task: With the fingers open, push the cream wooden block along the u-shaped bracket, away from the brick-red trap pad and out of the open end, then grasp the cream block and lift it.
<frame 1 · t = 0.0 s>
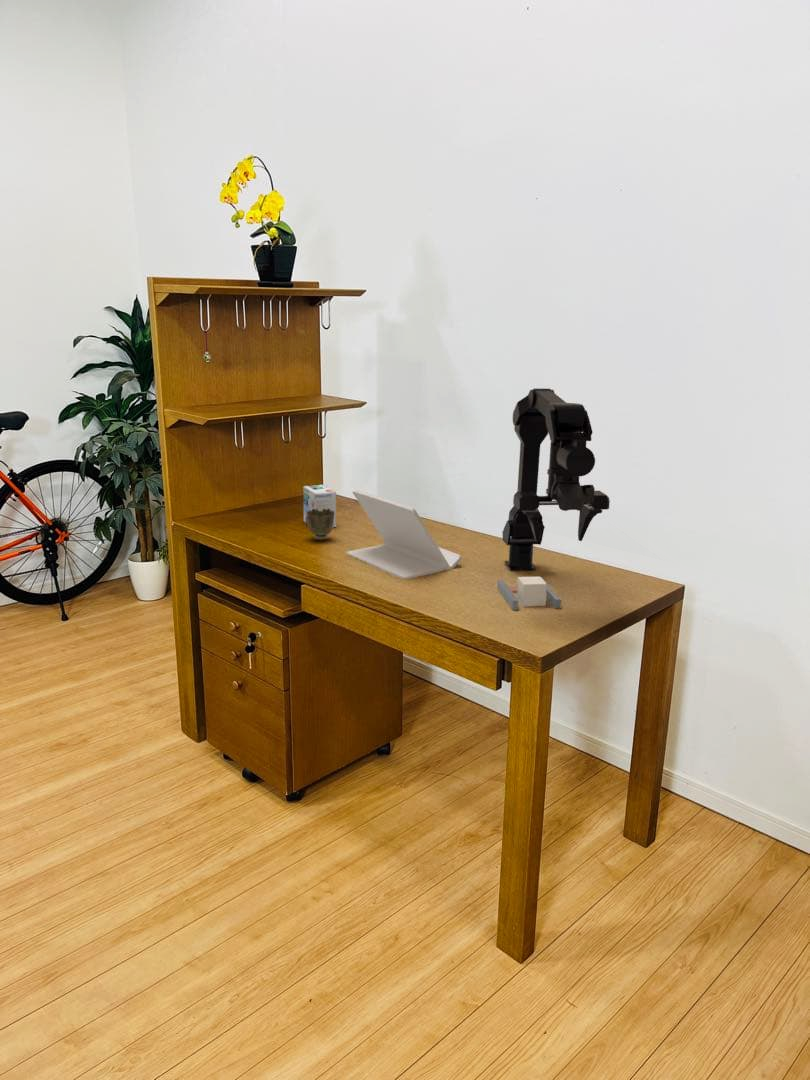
hand: (558, 541, 170), 15 cm above the table, tool pointing down, fingers open, 9 cm apart
cup: (321, 540, 222), on the table
tablet stand: (402, 561, 205), on the table
cream block: (530, 602, 177), on the table
light bulb box: (319, 525, 237), on the table
u-shaped bracket: (527, 597, 179), on the table
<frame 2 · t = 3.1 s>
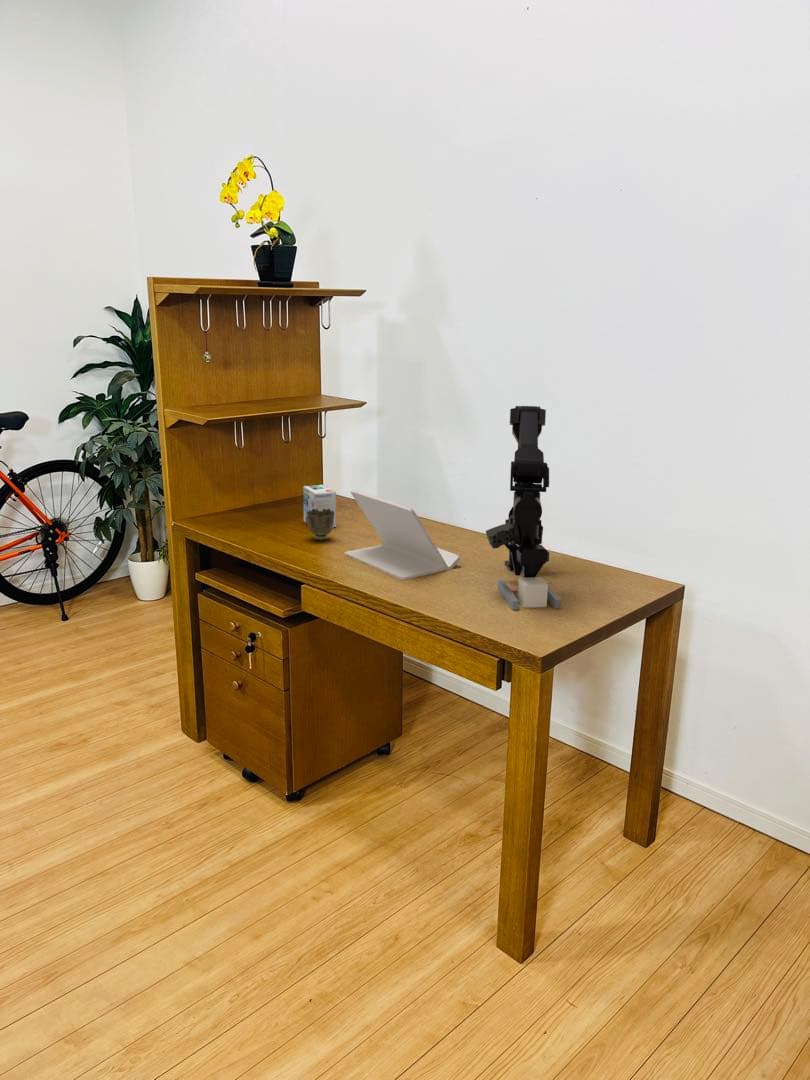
hand: (522, 581, 184), 2 cm above the table, tool pointing down, fingers open, 8 cm apart
cream block: (531, 603, 176), on the table, touching gripper
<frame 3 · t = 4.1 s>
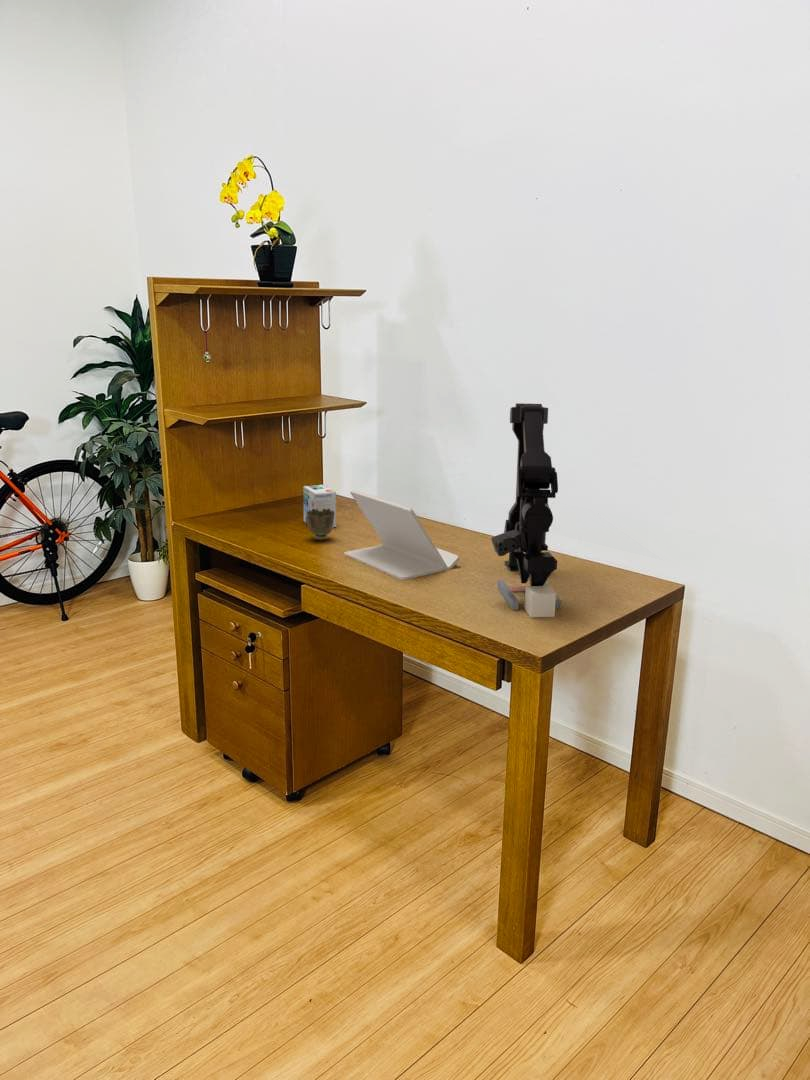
hand: (529, 589, 178), 2 cm above the table, tool pointing down, fingers open, 8 cm apart
cream block: (539, 612, 171), on the table, touching gripper
everything else where it was.
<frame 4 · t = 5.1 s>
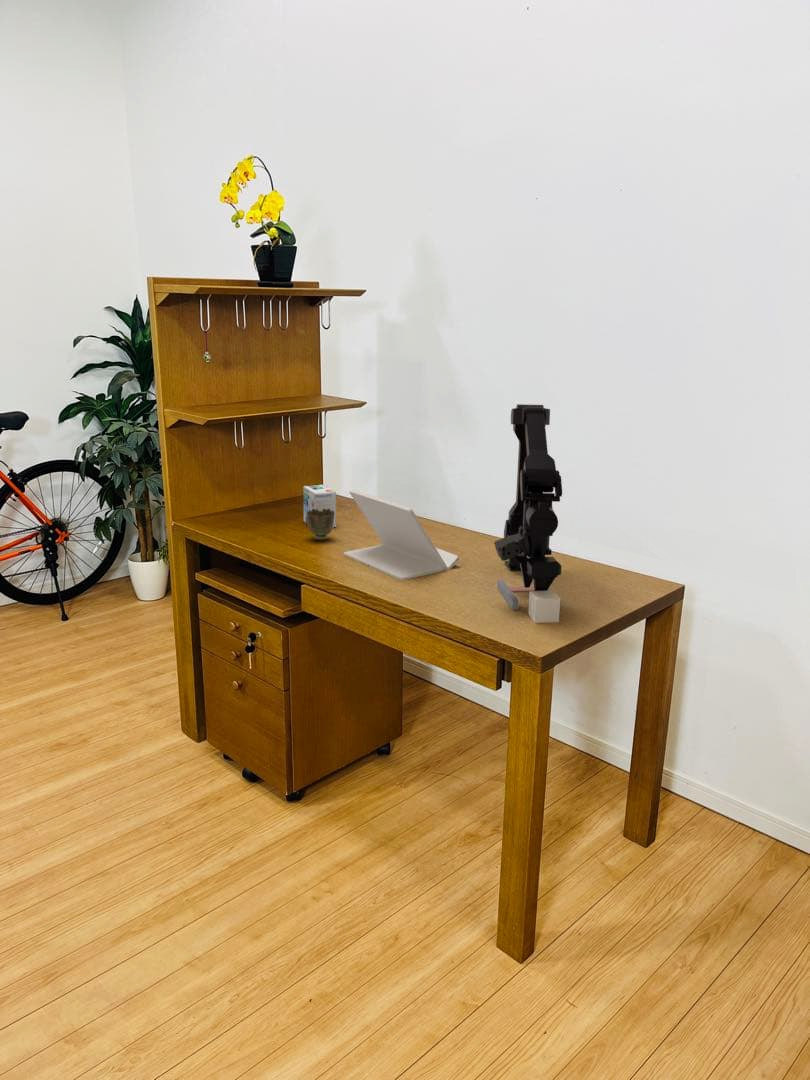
hand: (532, 594, 176), 2 cm above the table, tool pointing down, fingers open, 9 cm apart
cream block: (543, 617, 168), on the table, touching gripper
everything else where it was.
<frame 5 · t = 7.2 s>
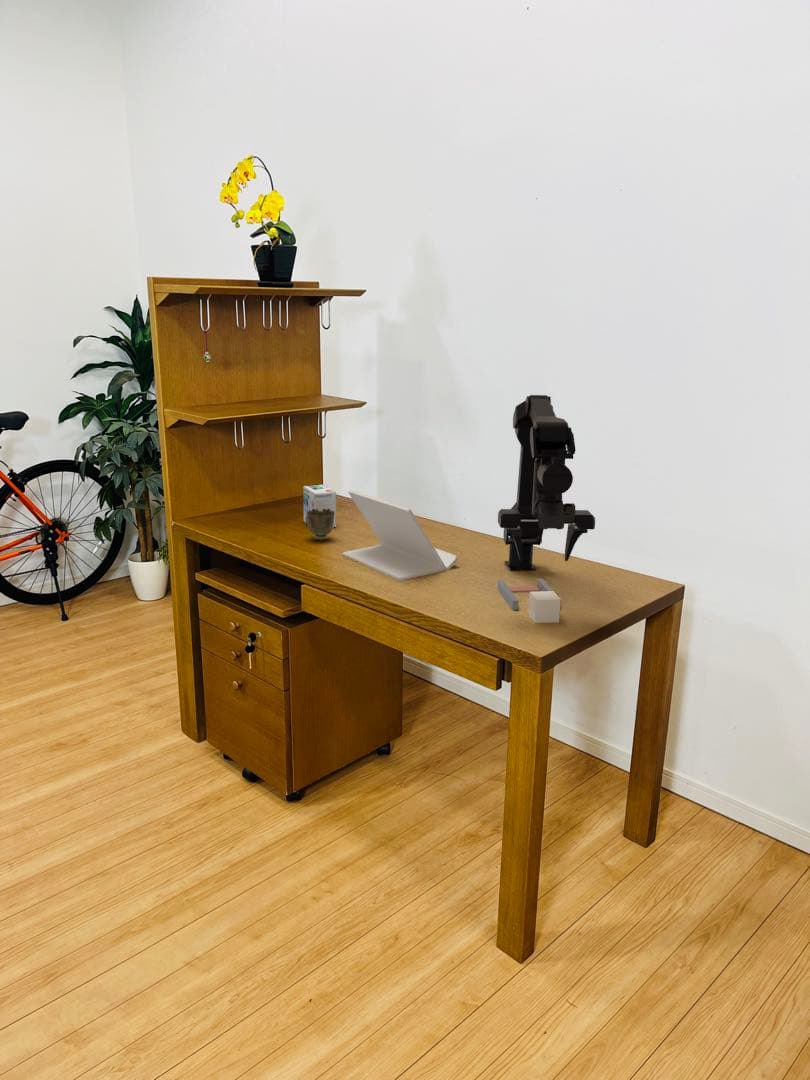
hand: (543, 560, 167), 12 cm above the table, tool pointing down, fingers open, 9 cm apart
cream block: (543, 618, 168), on the table
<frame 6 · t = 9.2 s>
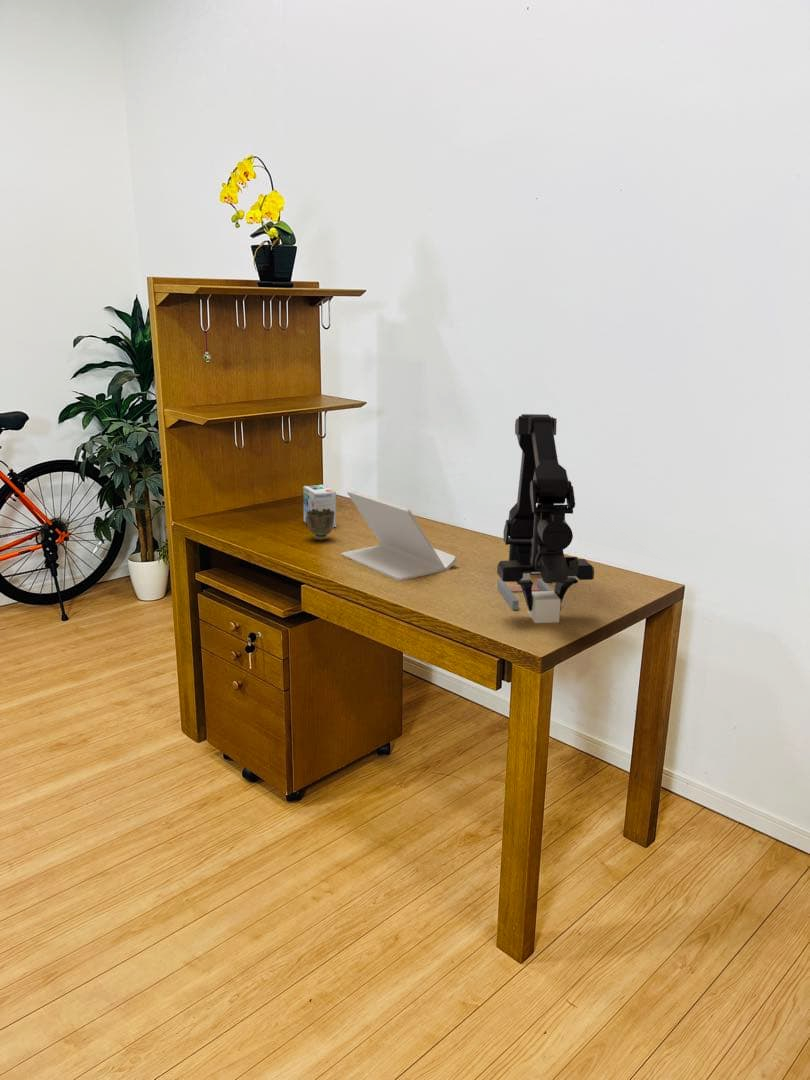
hand: (542, 609, 168), 2 cm above the table, tool pointing down, fingers closed on cream block, 5 cm apart
cream block: (543, 618, 168), on the table, touching gripper
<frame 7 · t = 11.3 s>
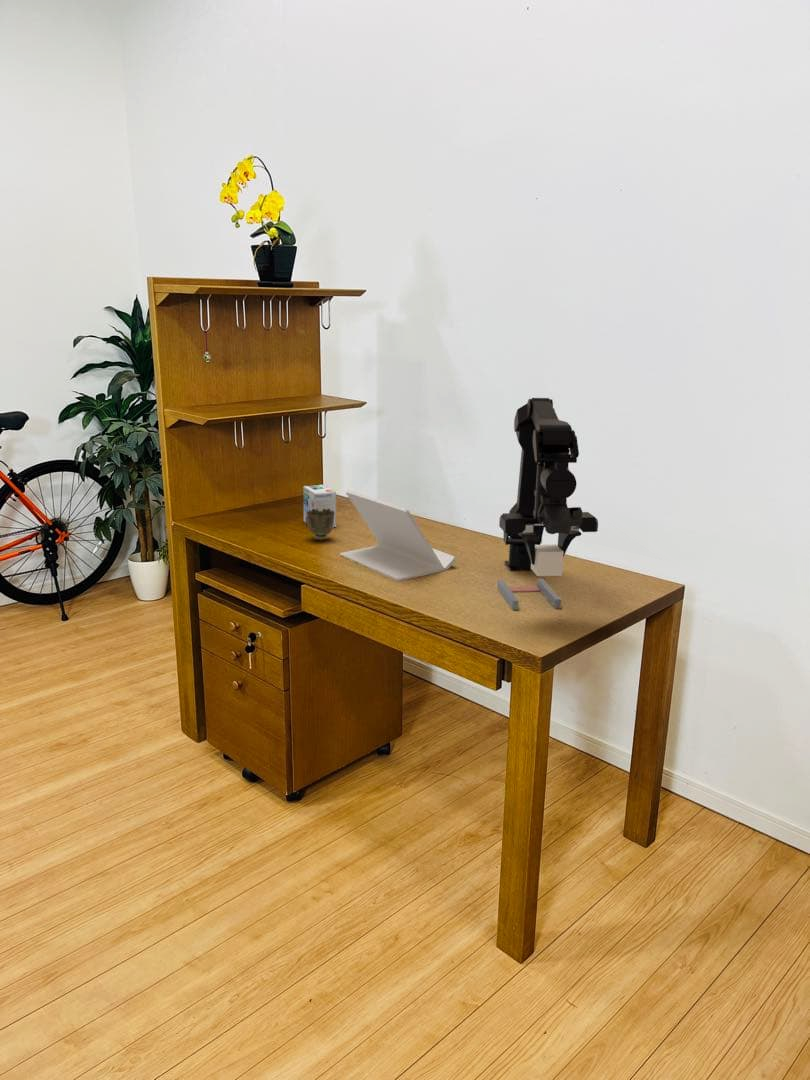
hand: (545, 563, 165), 11 cm above the table, tool pointing down, fingers closed on cream block, 5 cm apart
cream block: (546, 572, 165), point 10 cm above the table, touching gripper
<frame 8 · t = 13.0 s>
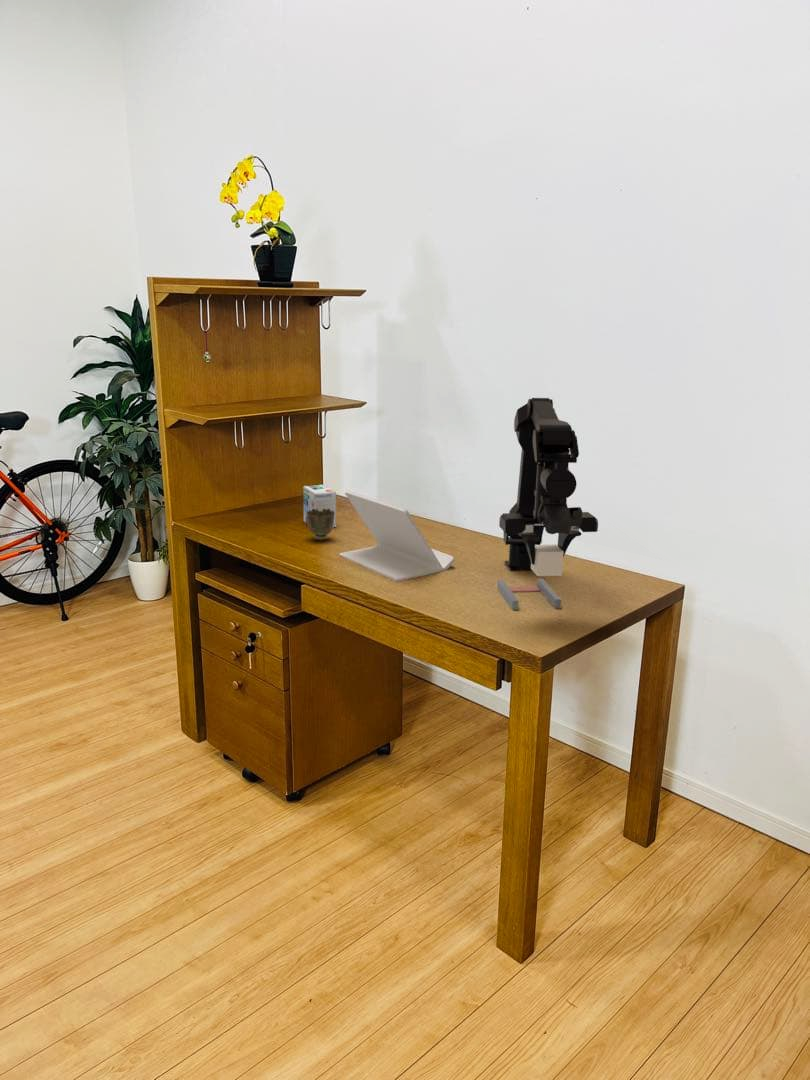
hand: (545, 563, 165), 11 cm above the table, tool pointing down, fingers closed on cream block, 5 cm apart
cream block: (546, 572, 165), point 10 cm above the table, touching gripper
at the end: cream block inside the target area (0.1 cm from its centre), point 9.9 cm above the table; the gripper is holding cream block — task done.
